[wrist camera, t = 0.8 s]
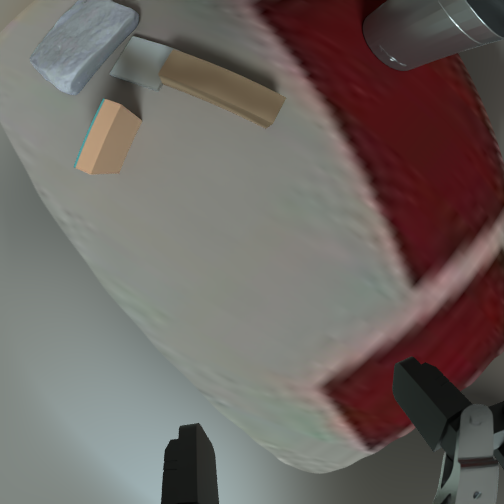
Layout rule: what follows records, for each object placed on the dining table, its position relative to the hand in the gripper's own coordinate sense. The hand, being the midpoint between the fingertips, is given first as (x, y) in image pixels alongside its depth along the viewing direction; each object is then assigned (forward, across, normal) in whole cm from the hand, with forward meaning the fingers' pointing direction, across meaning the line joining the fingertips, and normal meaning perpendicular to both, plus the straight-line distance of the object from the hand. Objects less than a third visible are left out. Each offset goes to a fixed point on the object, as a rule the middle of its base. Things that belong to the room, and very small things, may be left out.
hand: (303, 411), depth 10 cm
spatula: (+23, +1, -19) cm, 30 cm away
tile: (+23, +9, -14) cm, 29 cm away
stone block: (+24, +12, -29) cm, 39 cm away
